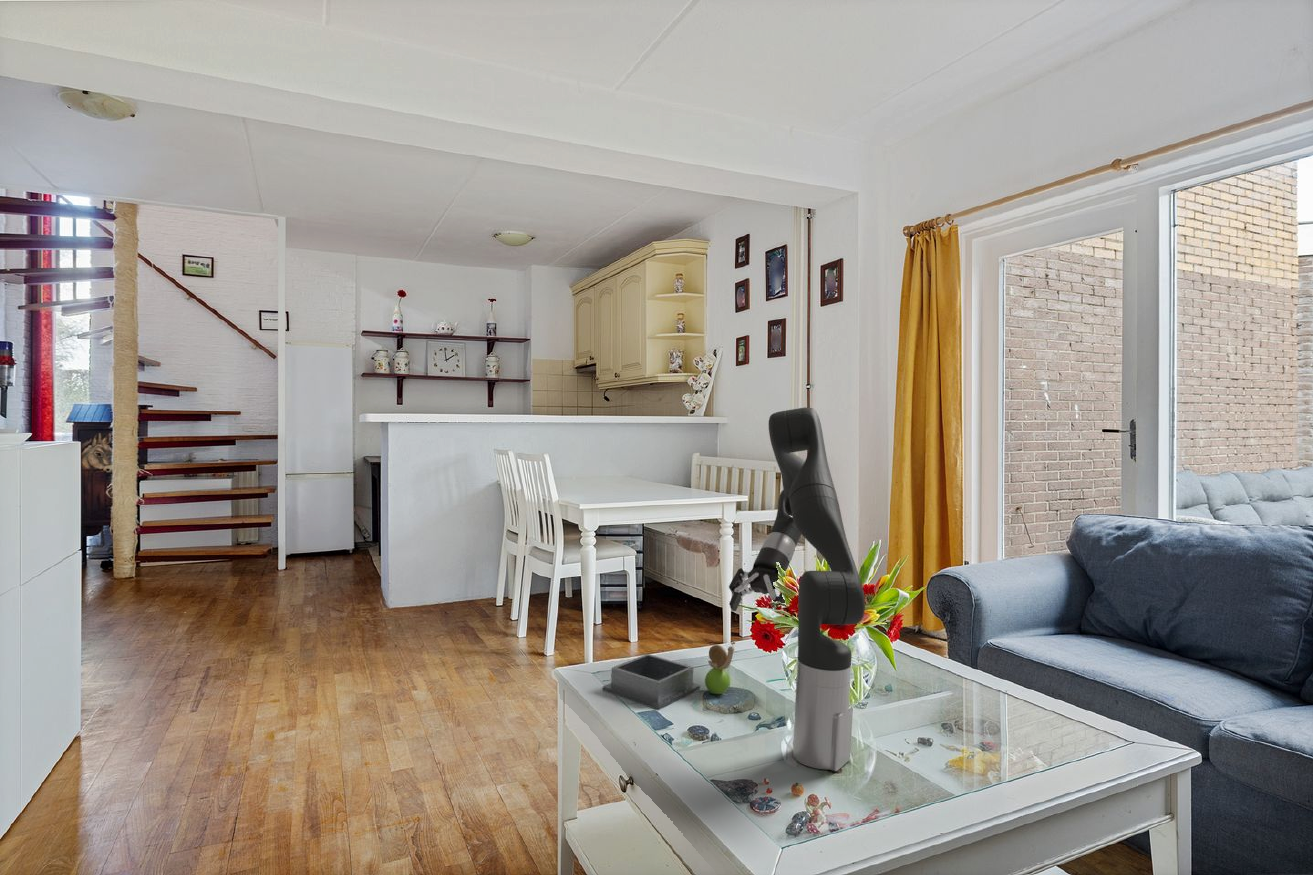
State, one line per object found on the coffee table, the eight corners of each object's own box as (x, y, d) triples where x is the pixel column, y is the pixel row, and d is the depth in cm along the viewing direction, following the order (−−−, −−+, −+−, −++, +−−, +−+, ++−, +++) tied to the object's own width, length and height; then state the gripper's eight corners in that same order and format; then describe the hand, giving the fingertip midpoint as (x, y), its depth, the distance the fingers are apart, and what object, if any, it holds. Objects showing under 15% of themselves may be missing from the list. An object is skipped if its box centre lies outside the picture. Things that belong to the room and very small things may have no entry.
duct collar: (700, 688, 161) (701, 667, 161) (659, 709, 149) (660, 685, 149) (645, 671, 170) (646, 651, 170) (602, 689, 158) (603, 667, 158)
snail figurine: (724, 701, 154) (727, 644, 154) (699, 693, 158) (701, 638, 158) (738, 694, 159) (740, 639, 158) (713, 686, 163) (715, 632, 162)
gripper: (744, 541, 178) (716, 597, 169) (798, 550, 169) (771, 609, 160) (753, 560, 182) (727, 615, 173) (807, 570, 174) (781, 628, 165)
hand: (748, 612), depth 167 cm, fingers open, 8 cm apart
